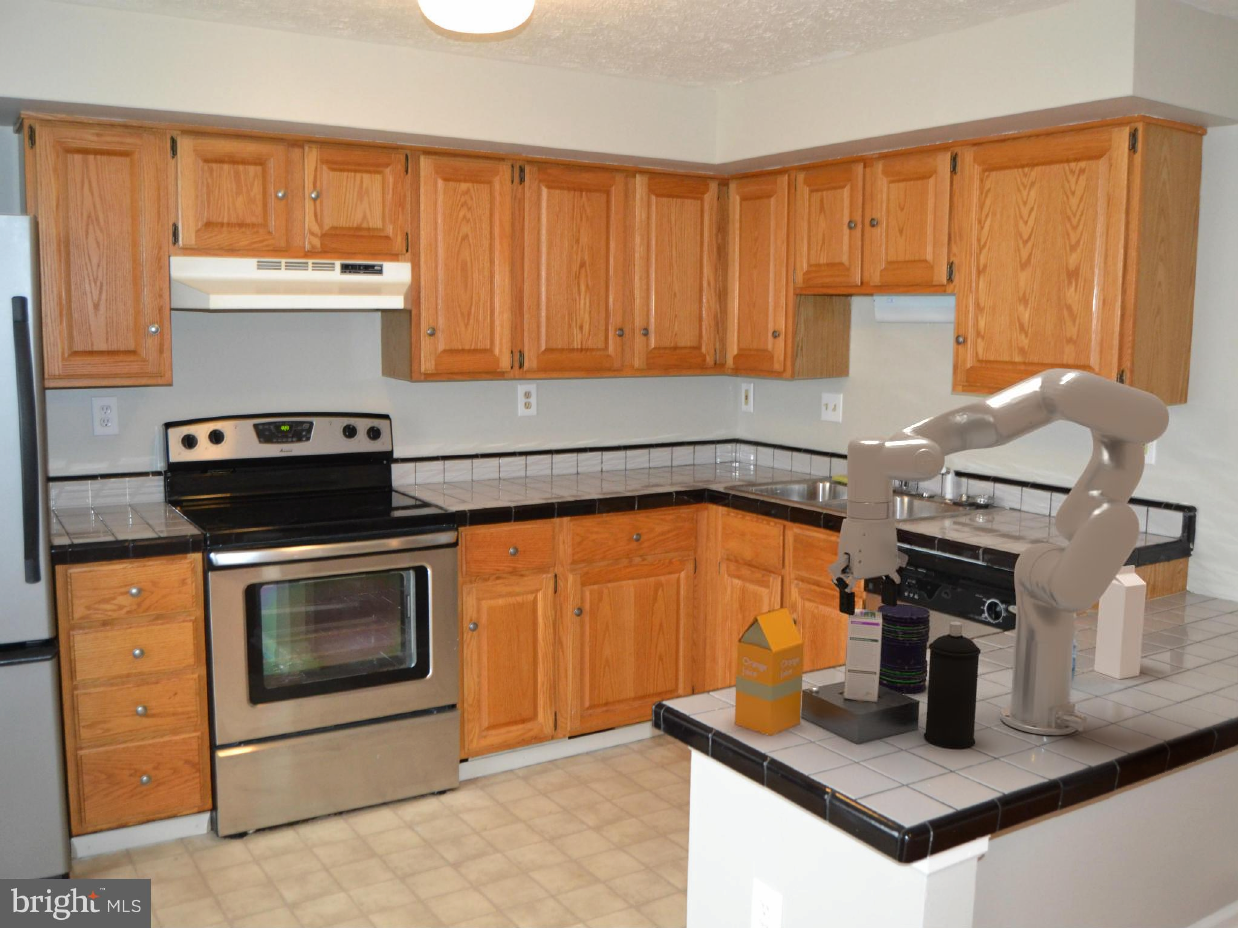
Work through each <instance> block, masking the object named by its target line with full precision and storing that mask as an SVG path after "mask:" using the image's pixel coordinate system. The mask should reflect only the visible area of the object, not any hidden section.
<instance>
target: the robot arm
mask: <svg viewBox="0 0 1238 928" xmlns="http://www.w3.org/2000/svg"><path fill="white" fill-rule="evenodd" d="M1057 421H1066V422H1072V423H1074V424H1077V425H1080V426H1081V427H1085V428H1088V429H1089V431H1090V433H1091V434H1090V435H1091V438H1092V452H1091V456H1090V459H1089V461H1088V463H1087V465H1086V467H1085V469H1084V470H1083V472H1082V473H1081V474H1080V477H1079V478H1078V479H1077V481H1076V483H1075V484H1074V486H1073V487H1072V489H1071V490H1070V492H1069V493H1068V495H1067V496H1066V497H1065V499H1064V501H1063V502H1061V505H1060V506H1059V508H1058V510H1057V512H1056V514H1055V518H1054V526H1055V530H1056V532H1057V533H1058V534H1059V535H1060V537H1061V538H1062V539H1064V540H1065V541H1067V542H1068V544H1067V545H1066V547H1065V548H1064V547H1062V546H1060V545H1058V544H1055V543H1054V544H1053V543H1049V542H1039V543H1034V544H1032V545H1030V546H1028V547H1026V548H1025V549H1024V550H1023V551H1021V553H1020V555H1019V556H1018V558H1017V560H1016V563H1015V566H1014V577H1013V578H1014V589H1015V602H1016V603H1015V604H1016V606H1015V607H1016V610H1015V611H1016V612H1015V613H1016V614H1015V615H1016V616H1015V632H1014V645H1013V657H1012V658H1013V661H1012V676H1011V677H1012V678H1011V689H1010V691H1011V692H1010V705H1007V706H1005V707H1003V708H1002V709H1001V710H1000V720H1001V721H1002V722H1003V723H1005V725H1007V726H1008V727H1012V728H1013V729H1015V730H1019V731H1023V732H1026V733H1030V734H1035V735H1045V736H1065V735H1069V734H1073V733H1074V732H1076V731H1080V732H1081V731H1083V730H1084V728H1085V726H1086V724H1087V722H1088V717H1087V716H1085V715H1083V714H1078V713H1076V711H1075V710H1076V703H1074V702H1071V687H1072V673H1073V660H1074V658H1073V657H1074V644H1075V634H1076V619H1075V618H1076V617H1075V616H1076V614H1079V613H1083V612H1085V611H1087V610H1088V609H1091V607H1092V608H1093V606H1094V605H1095V604H1096V603H1098V602H1099V599H1100V598H1101V597H1102V595H1103V594H1104V593H1105V591H1106V590H1107V588H1108V587H1109V585H1110V584H1111V582H1112V581H1113V580H1114V578H1115V577H1116V575H1117V574H1118V572H1119V571H1120V569H1121V568H1122V566H1124V564H1126V562H1127V560H1128V559H1129V557H1130V556H1131V554H1132V553H1133V551H1134V549H1135V547H1136V545H1137V543H1138V540H1139V535H1140V522H1139V518H1138V516H1137V513H1136V512H1135V511H1134V509H1133V508H1132V507H1131V506H1130V505H1128V502H1129V500H1130V499H1131V498H1132V495H1133V494H1134V492H1135V490H1136V489H1137V487H1138V485H1139V483H1140V482H1141V480H1142V477H1143V473H1144V471H1145V463H1146V462H1145V461H1146V460H1145V459H1146V457H1145V454H1146V453H1145V447H1144V445H1146V444H1150V443H1154V442H1155V441H1157V440H1158V439H1160V437H1162V436H1163V434H1164V433H1165V432H1166V430H1168V427H1169V422H1170V413H1169V410H1168V408H1167V406H1166V404H1165V402H1164V401H1163V400H1162V399H1161V398H1160V397H1158V396H1157V395H1155V394H1153V393H1151V392H1149V391H1146V390H1142V389H1139V388H1136V387H1134V386H1130V385H1127V384H1124V383H1122V382H1118V381H1114V380H1112V379H1108V378H1106V377H1103V376H1101V375H1098V374H1095V373H1092V372H1089V371H1084V370H1082V369H1072V368H1059V367H1058V368H1057V367H1056V368H1050V369H1046V370H1044V371H1040V372H1038V373H1037V374H1035V375H1032V376H1030V377H1028V378H1025V379H1023V380H1021V381H1019V382H1017V383H1015V384H1012V385H1011V386H1008V387H1006V388H1004V389H1002V390H1000V391H997V392H995V393H993V394H991V395H988V396H986V397H984V398H982V399H979V400H976V401H973V402H970V403H966V404H964V405H962V406H958V407H956V408H953V409H951V410H946V411H945V412H941V413H939V414H935V415H933V416H931V417H928V418H926V419H923V420H921V421H919V422H916V423H914V424H912V425H910V426H908V427H906V428H904V429H902V430H899V431H898V432H895V433H894V434H893V435H892V436H890V437H889V438H886V437H881V436H880V437H879V436H878V437H877V436H861V437H855V438H853V439H851V440H850V441H849V442H848V444H847V450H846V451H847V462H846V463H847V464H846V465H847V467H846V469H847V470H846V471H847V473H846V476H847V477H846V479H847V480H846V489H847V490H846V518H843V520H842V523H841V528H840V534H839V539H838V546H837V548H838V549H837V560H835V561H834V562H833V563H832V564H830V565H829V566H828V568H827V572H828V574H829V577H830V578H831V583H833V584H834V585H835V589H836V590H838V591H839V593H838V595H839V598H838V599H839V600H838V603H839V605H838V609H839V613H842V614H845V615H854V614H855V609H856V592H855V591H853V590H854V588H855V587H856V584H858V581H859V580H861V581H862V580H867V579H868V580H869V579H872V578H880V577H882V578H883V580H881V583H880V584H881V585H880V586H881V589H880V590H881V593H880V595H881V598H880V601H881V604H882V605H888V606H892V607H896V606H897V604H898V584H900V583H901V577H902V575H903V574H904V573H905V570H906V569H905V567H906V565H907V563H908V560H909V556H908V555H907V554H905V553H904V552H901V550H900V551H899V550H898V535H897V529H896V522H895V518H894V517H893V509H894V508H895V502H894V501H893V496H894V495H893V492H894V481H902V482H903V481H904V482H911V483H925V482H929V481H932V480H934V479H935V478H936V477H938V476H940V474H941V473H942V471H943V470H944V467H945V461H946V459H945V458H946V457H947V456H950V455H953V454H956V453H960V452H964V451H969V450H970V451H971V450H980V449H981V450H982V449H984V450H985V449H993V448H995V447H1000V446H1001V447H1003V446H1005V445H1008V444H1009V443H1011V442H1014V441H1016V440H1018V439H1020V438H1022V437H1024V436H1026V435H1029V434H1030V433H1033V432H1035V431H1037V430H1040V429H1041V428H1044V427H1046V426H1048V425H1052V424H1053V423H1056V422H1057Z"/></svg>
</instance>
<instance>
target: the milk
mask: <svg viewBox="0 0 1238 928" xmlns="http://www.w3.org/2000/svg"><path fill="white" fill-rule="evenodd" d="M1135 571H1136V565H1133V564H1132V565H1125V566H1124V565H1123V566H1122V568H1121V569H1120V571H1119V572H1118V574H1117V575H1116V577H1115V578H1114V580H1113V581H1112V582H1111V584H1110V585H1109V587H1108V588H1107V590H1106V591H1105V593H1104V594H1103V595H1102V597H1101V598H1100V599H1099V600H1098V602H1099V604H1098V616H1097V625H1096V626H1097V627H1096V628H1097V630H1096V642H1095V643H1096V644H1095V655H1094V656H1095V657H1094V669H1093V671H1094V672H1096V673H1100V674H1101V675H1102V674H1103V675H1104V676H1108V677H1111V678H1113V679H1116V680H1122V679H1128V678H1129V679H1130V678H1134V677H1139V676H1140V672H1141V671H1140V670H1141V659H1142V658H1141V657H1142V645H1143V634H1144V633H1143V632H1144V622H1145V607H1146V595H1147V583H1146V581H1144V580H1143V579H1142V578H1141V577H1140V576H1139V575H1138V574H1137V573H1136V572H1135Z"/></svg>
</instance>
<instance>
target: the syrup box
mask: <svg viewBox="0 0 1238 928" xmlns="http://www.w3.org/2000/svg"><path fill="white" fill-rule="evenodd" d="M847 618H848V619H847V631H846V632H847V635H846V648H845V649H846V650H845V666H844V669H845V670H844V681H845V682H844V698H847V699H853V700H861V701H872V702H877V698H878V686H879V673H880V659H881V638H882V612H879V611H878V610H872V609H861V608H860V609H859V608H858V609H857V608H855V614H854V615H848V617H847Z"/></svg>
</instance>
